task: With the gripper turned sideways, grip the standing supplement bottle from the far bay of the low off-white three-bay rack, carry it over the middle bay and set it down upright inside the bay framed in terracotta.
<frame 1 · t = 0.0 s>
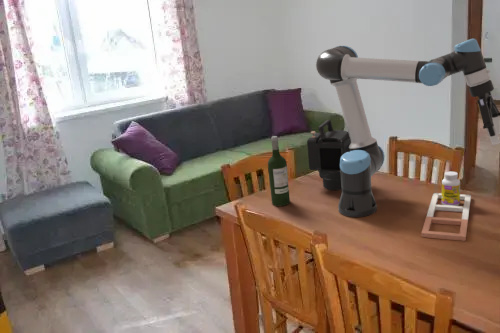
hand: (498, 139, 173), 28 cm above the table, tool tilted 20°, fingers open, 13 cm apart
wine bottle: (281, 203, 213), on the table
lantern: (333, 185, 226), on the table
supplement bottle: (450, 204, 192), resting in rack
rack: (447, 216, 182), on the table
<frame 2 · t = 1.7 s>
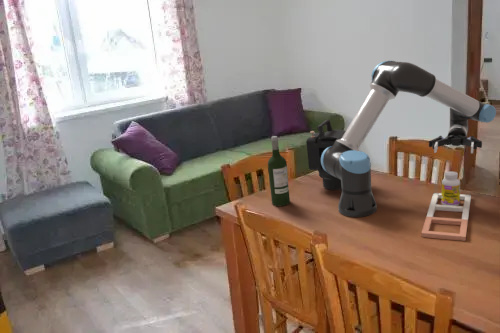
hand: (453, 149, 194), 19 cm above the table, tool horizontal, fingers open, 13 cm apart
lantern: (333, 185, 226), on the table, touching arm
everything else where it was.
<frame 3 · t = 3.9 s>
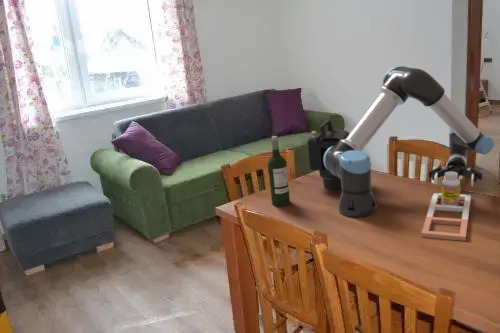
hand: (453, 182, 193), 8 cm above the table, tool horizontal, fingers open, 13 cm apart
nothing on the table moved.
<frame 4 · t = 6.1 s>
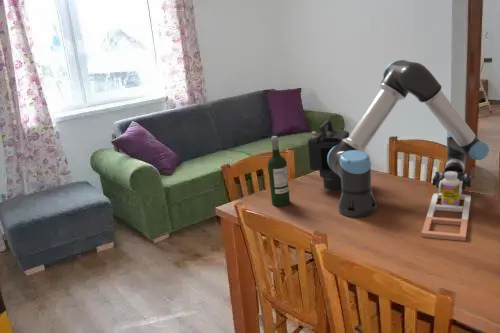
hand: (449, 190, 185), 8 cm above the table, tool horizontal, fingers closed on supplement bottle, 7 cm apart
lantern: (334, 185, 226), on the table
supplement bottle: (450, 204, 192), resting in rack, touching gripper
everything else where it was.
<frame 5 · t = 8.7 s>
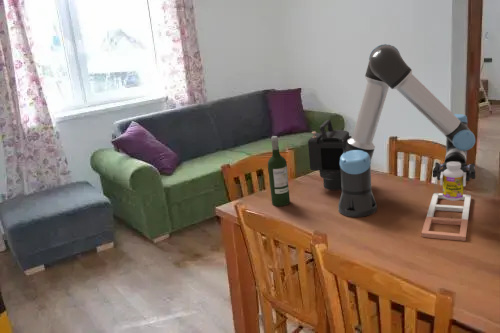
hand: (452, 182, 166), 18 cm above the table, tool horizontal, fingers closed on supplement bottle, 7 cm apart
supplement bottle: (452, 198, 173), point 10 cm above the table, touching gripper
everything else where it was.
when the fingers open (9 cm above the table, at t = 11.6 s): supplement bottle drops 1 cm, resting in rack.
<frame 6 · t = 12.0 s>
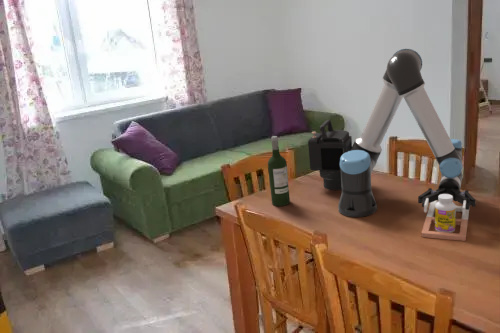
hand: (444, 210, 165), 9 cm above the table, tool horizontal, fingers open, 11 cm apart
supplement bottle: (445, 230, 171), resting in rack
everything else where it was.
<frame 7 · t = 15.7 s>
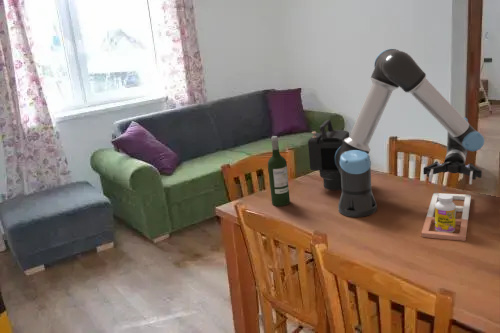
hand: (450, 179, 176), 15 cm above the table, tool horizontal, fingers open, 13 cm apart
nothing on the table moved.
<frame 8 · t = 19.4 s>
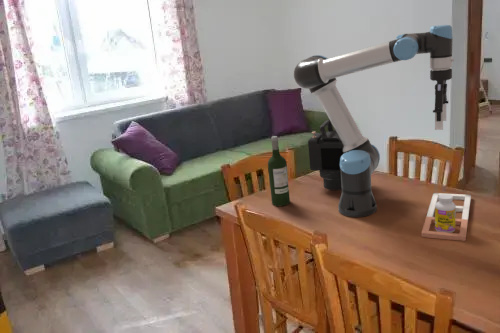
hand: (440, 124, 185), 32 cm above the table, tool pointing down, fingers open, 13 cm apart
nothing on the table moved.
at the end: supplement bottle inside the target area on the rack (0.0 cm from its centre), point 0.0 cm above the rack's base; supplement bottle tilted 0°; the gripper is holding nothing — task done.
